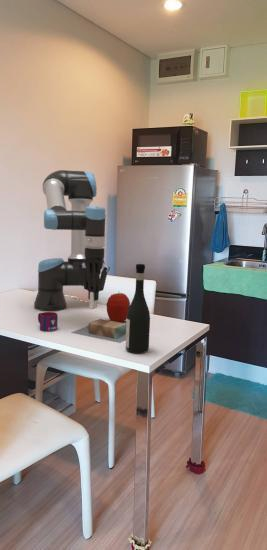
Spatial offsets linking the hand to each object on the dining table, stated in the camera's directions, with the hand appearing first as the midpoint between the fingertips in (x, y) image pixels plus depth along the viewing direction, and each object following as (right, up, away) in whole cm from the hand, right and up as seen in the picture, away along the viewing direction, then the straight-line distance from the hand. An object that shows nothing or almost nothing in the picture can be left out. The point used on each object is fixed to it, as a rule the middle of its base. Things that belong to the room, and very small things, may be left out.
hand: (93, 308), depth 166 cm
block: (0, -7, +1) cm, 7 cm away
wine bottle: (+17, -13, -18) cm, 28 cm away
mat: (+5, -10, -1) cm, 11 cm away
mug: (-19, -9, +3) cm, 21 cm away
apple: (+9, -8, +17) cm, 21 cm away
